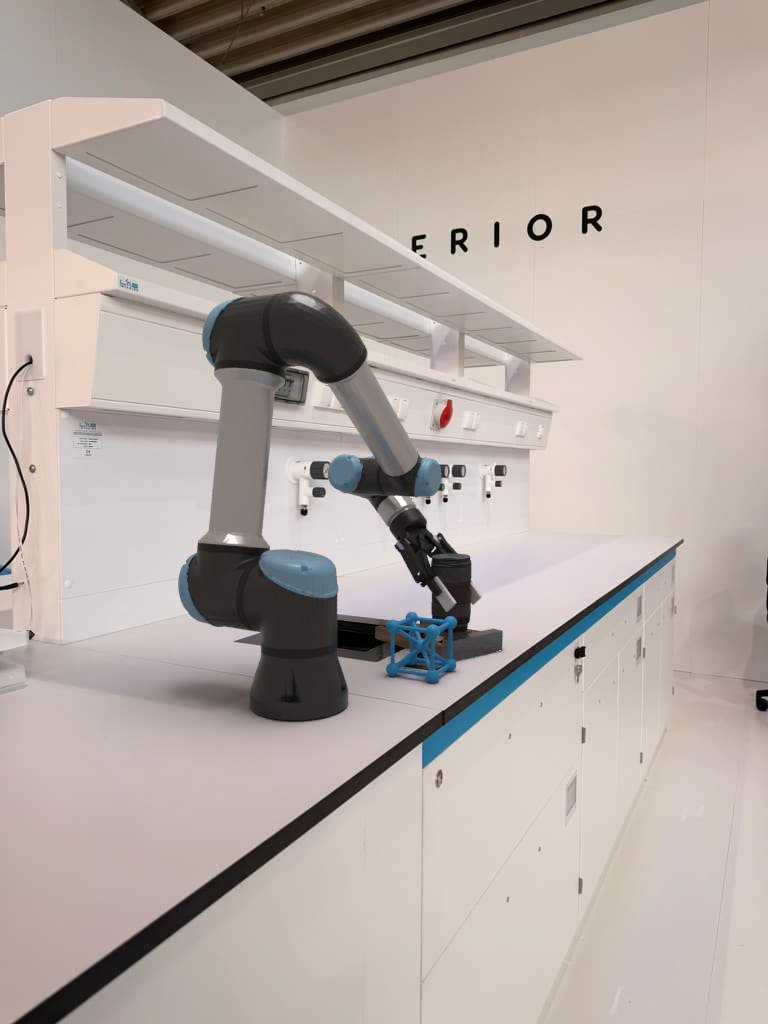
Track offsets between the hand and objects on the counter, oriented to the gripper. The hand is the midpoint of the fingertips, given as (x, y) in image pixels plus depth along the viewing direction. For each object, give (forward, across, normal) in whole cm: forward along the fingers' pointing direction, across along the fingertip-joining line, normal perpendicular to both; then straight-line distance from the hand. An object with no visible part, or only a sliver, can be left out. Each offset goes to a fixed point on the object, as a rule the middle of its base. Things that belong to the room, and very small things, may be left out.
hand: (464, 603), depth 145 cm
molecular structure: (+9, +18, -4) cm, 21 cm away
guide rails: (+1, -1, -13) cm, 13 cm away
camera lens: (+2, 0, -6) cm, 7 cm away
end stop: (+9, +2, -4) cm, 10 cm away
